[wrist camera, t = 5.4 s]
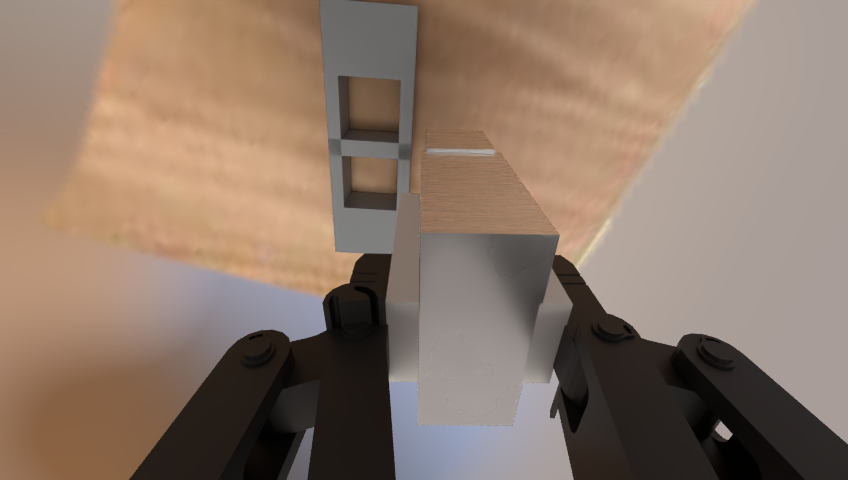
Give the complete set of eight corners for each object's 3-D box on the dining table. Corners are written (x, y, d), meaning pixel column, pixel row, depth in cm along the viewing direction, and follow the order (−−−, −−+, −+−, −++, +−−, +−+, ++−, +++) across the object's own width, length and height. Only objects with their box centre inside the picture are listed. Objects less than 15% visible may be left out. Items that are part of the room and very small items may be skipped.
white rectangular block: (421, 129, 15) (420, 227, 7) (487, 130, 15) (560, 230, 7) (419, 259, 18) (417, 426, 10) (472, 260, 18) (512, 427, 10)
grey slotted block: (331, 4, 24) (319, -3, 21) (418, 11, 24) (418, 6, 21) (343, 232, 33) (335, 251, 30) (406, 236, 33) (405, 255, 30)
